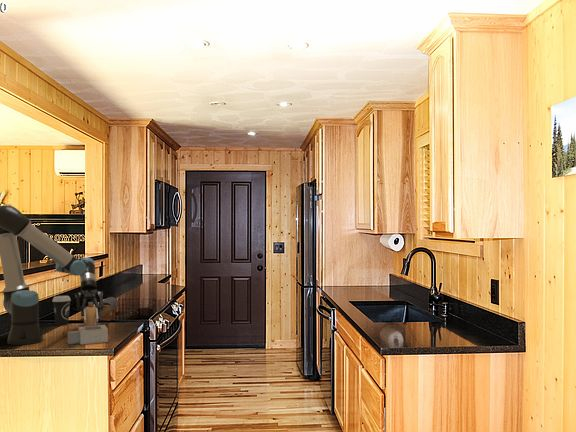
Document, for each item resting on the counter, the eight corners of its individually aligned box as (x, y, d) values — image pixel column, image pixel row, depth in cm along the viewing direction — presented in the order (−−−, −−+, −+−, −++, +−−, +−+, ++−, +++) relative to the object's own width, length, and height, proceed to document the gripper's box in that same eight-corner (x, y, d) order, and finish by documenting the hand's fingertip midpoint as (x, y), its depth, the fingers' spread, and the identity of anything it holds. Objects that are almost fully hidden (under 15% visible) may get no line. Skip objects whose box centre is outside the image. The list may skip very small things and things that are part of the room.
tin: (96, 319, 319) (96, 304, 319) (101, 318, 322) (101, 303, 322) (111, 321, 310) (111, 306, 310) (116, 321, 312) (116, 306, 312)
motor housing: (107, 342, 259) (107, 329, 259) (68, 345, 252) (68, 332, 252) (104, 337, 270) (104, 324, 270) (67, 340, 263) (67, 328, 263)
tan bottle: (89, 328, 271) (90, 303, 271) (82, 327, 274) (83, 302, 274) (97, 327, 275) (98, 301, 276) (91, 326, 278) (91, 301, 278)
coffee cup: (66, 321, 312) (66, 295, 312) (74, 324, 305) (73, 296, 305) (49, 324, 305) (49, 296, 305) (56, 326, 298) (56, 298, 298)
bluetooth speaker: (113, 318, 320) (113, 301, 320) (96, 319, 319) (96, 301, 319) (119, 312, 343) (119, 295, 343) (103, 312, 341) (103, 296, 341)
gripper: (106, 287, 293) (109, 324, 277) (69, 289, 285) (71, 326, 270) (107, 278, 288) (111, 315, 273) (70, 279, 280) (71, 317, 265)
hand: (91, 320), depth 271 cm, fingers closed on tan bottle, 5 cm apart
